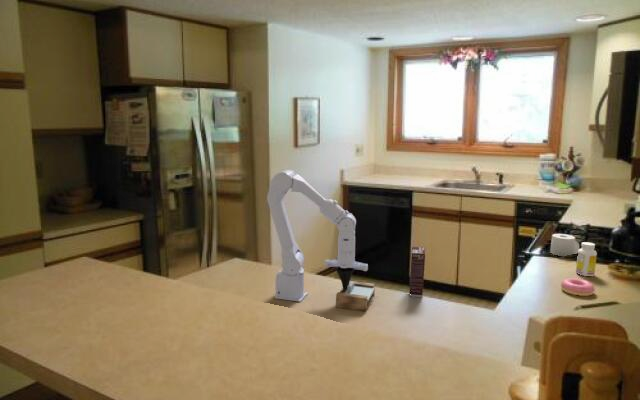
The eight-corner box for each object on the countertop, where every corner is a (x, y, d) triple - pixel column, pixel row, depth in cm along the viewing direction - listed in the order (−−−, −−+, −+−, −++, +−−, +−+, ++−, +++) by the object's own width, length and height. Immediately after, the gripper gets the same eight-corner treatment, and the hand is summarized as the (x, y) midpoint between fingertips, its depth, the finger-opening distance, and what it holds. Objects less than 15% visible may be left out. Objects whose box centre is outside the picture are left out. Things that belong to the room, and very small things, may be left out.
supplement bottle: (594, 273, 195) (598, 243, 193) (593, 278, 190) (597, 246, 187) (576, 270, 199) (579, 240, 197) (574, 275, 193) (578, 244, 191)
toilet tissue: (584, 256, 219) (586, 237, 217) (559, 258, 215) (561, 239, 214) (569, 250, 227) (571, 232, 226) (545, 252, 224) (547, 234, 222)
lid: (342, 298, 159) (342, 289, 159) (350, 286, 170) (351, 278, 169) (368, 301, 157) (368, 292, 156) (375, 289, 167) (375, 281, 167)
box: (335, 307, 159) (336, 294, 158) (346, 292, 172) (347, 280, 172) (365, 311, 156) (366, 298, 155) (374, 295, 169) (374, 283, 168)
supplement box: (423, 298, 168) (425, 254, 165) (408, 296, 169) (411, 253, 166) (422, 289, 176) (425, 247, 174) (409, 287, 177) (411, 246, 174)
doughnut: (600, 294, 174) (602, 283, 173) (582, 300, 169) (584, 288, 168) (571, 284, 183) (573, 274, 182) (553, 290, 178) (555, 279, 177)
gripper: (322, 251, 160) (321, 289, 163) (365, 255, 156) (363, 295, 159) (328, 245, 167) (327, 282, 170) (369, 249, 163) (368, 287, 165)
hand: (345, 288), depth 165 cm, fingers closed
